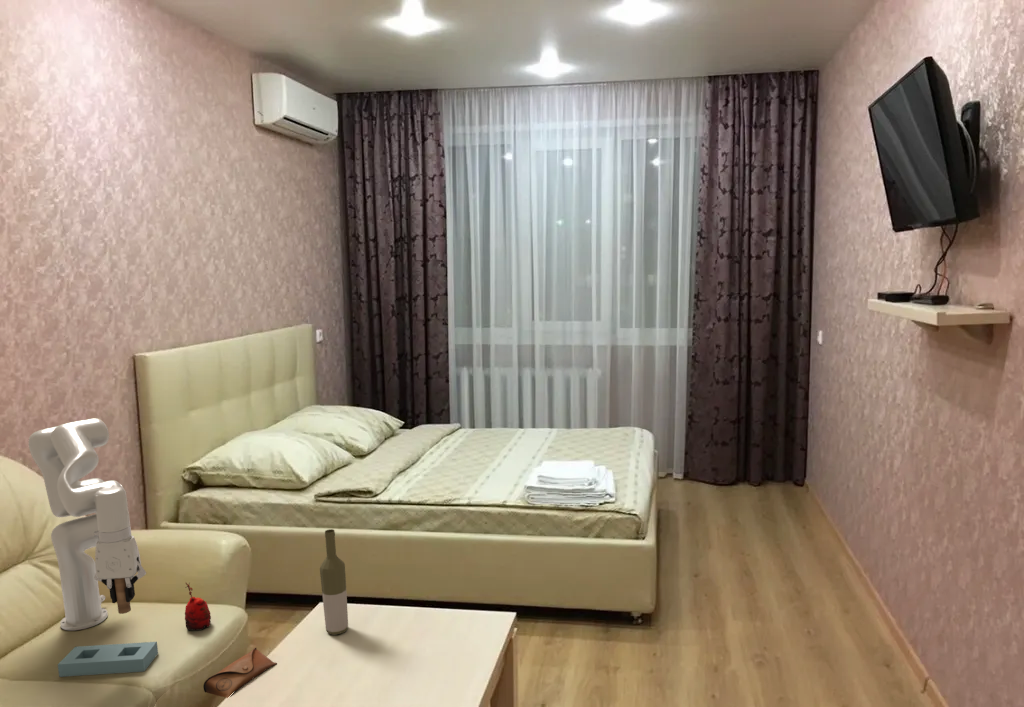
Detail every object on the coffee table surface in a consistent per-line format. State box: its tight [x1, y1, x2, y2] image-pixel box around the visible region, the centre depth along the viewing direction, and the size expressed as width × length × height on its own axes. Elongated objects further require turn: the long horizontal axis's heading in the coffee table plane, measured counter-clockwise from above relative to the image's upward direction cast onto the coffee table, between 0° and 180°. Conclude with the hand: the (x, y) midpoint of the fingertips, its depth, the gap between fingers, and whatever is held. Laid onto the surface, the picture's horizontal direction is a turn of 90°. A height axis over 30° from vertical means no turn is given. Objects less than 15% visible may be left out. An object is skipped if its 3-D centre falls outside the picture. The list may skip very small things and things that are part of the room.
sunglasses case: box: [203, 647, 278, 699], centre depth 198 cm, size 18×7×7 cm
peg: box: [114, 578, 132, 615], centre depth 204 cm, size 3×3×12 cm
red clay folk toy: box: [184, 581, 212, 631], centre depth 225 cm, size 8×7×15 cm
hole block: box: [57, 641, 159, 678], centre depth 206 cm, size 9×22×4 cm, turn 93°
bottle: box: [319, 528, 349, 636], centre depth 218 cm, size 7×7×30 cm
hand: (123, 599), depth 204 cm, fingers closed on peg, 3 cm apart
